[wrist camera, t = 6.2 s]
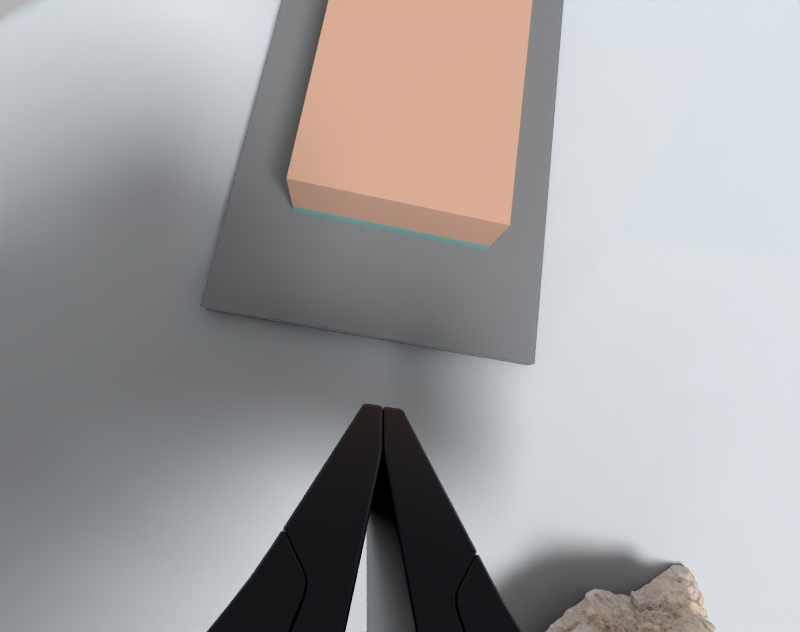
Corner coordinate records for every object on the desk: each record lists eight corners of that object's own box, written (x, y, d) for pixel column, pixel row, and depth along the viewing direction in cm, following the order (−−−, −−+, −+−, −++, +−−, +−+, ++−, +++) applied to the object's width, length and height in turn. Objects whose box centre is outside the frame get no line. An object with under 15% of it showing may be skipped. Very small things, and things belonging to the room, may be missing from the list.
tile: (509, 225, 15) (534, -16, 18) (286, 178, 14) (344, -68, 17) (486, 249, 18) (510, 35, 20) (293, 210, 17) (343, -8, 19)
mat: (527, 364, 18) (534, 363, 17) (205, 308, 16) (200, 305, 16) (558, 0, 22) (564, -11, 21) (305, -69, 20) (304, -83, 20)
